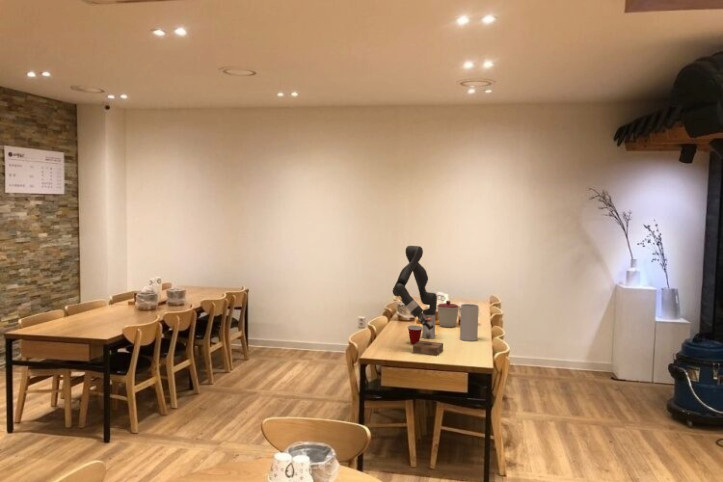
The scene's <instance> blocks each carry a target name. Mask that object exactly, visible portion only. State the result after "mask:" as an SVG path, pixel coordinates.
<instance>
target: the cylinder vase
mask: <svg viewBox="0 0 723 482" xmlns="http://www.w3.org/2000/svg"><path fill="white" fill-rule="evenodd" d="M459 323H460V324H459V325H460V326H459V327H460V328H459V339H460V340H461V341H465V342H475V341H478V331H479V326H478V325H479V305H478V304H471V303H463V304H461V305H460V322H459Z"/></svg>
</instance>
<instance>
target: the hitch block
mask: <svg viewBox="0 0 723 482" xmlns="http://www.w3.org/2000/svg"><path fill="white" fill-rule="evenodd" d="M443 351H444V343H443V342H437V341H428V340H419V342H417V343H416V344H412V353H413V354H418V355H419V354H420V355H428V356H435V357H438V356H439V354H441V353H442V352H443Z"/></svg>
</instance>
